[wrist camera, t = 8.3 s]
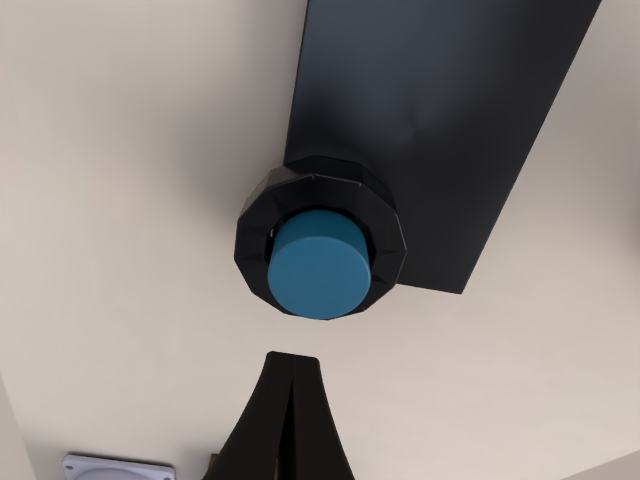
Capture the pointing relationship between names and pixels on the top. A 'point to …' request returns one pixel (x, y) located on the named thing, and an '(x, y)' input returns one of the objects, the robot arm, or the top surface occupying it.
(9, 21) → the top surface
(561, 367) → the top surface
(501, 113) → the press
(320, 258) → the button
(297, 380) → the robot arm
